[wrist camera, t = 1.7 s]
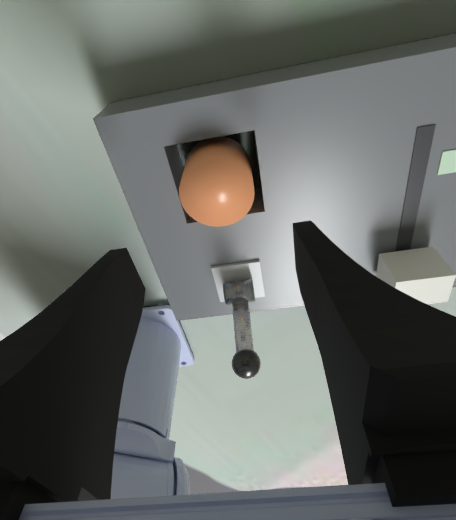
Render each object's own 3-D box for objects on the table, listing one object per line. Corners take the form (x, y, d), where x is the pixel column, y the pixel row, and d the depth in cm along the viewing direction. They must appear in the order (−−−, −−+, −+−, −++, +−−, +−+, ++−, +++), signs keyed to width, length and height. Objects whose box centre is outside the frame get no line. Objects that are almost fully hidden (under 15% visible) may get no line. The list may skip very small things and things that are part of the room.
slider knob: (375, 278, 21) (391, 308, 19) (379, 253, 19) (396, 282, 17) (426, 272, 20) (447, 301, 18) (433, 246, 19) (456, 274, 17)
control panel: (181, 291, 26) (176, 322, 23) (111, 102, 17) (91, 119, 15) (450, 256, 24) (476, 286, 21) (522, 19, 15) (580, 23, 13)
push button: (194, 203, 19) (189, 231, 17) (177, 142, 17) (169, 165, 15) (255, 193, 19) (258, 221, 17) (246, 130, 17) (248, 151, 14)
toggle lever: (226, 287, 22) (233, 381, 19) (222, 278, 20) (229, 378, 17) (253, 284, 21) (264, 378, 19) (251, 274, 20) (263, 374, 17)
